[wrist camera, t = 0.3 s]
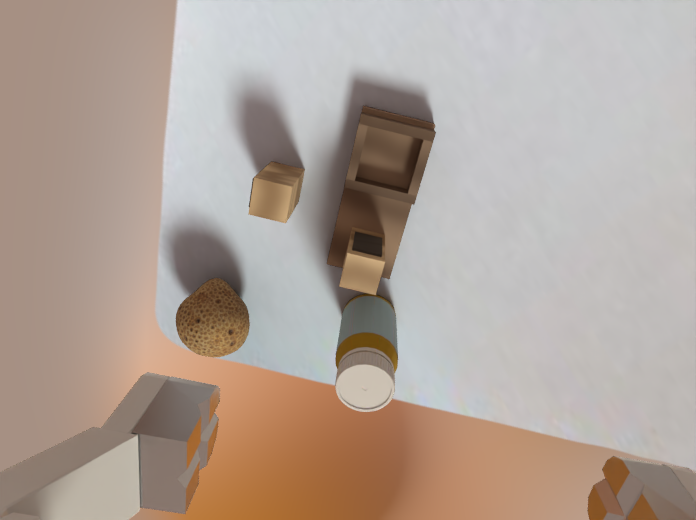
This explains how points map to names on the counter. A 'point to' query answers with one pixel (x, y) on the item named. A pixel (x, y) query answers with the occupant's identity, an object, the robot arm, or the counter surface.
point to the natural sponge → (213, 320)
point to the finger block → (276, 191)
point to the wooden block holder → (378, 196)
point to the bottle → (367, 353)
